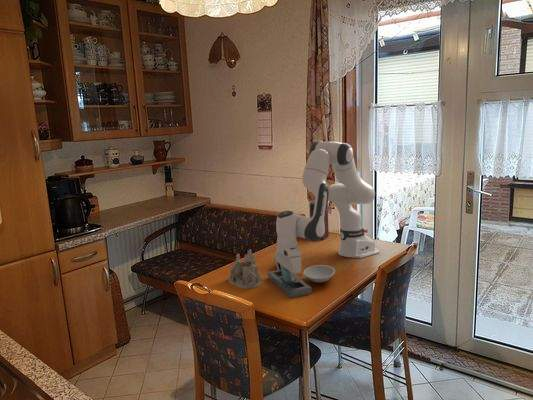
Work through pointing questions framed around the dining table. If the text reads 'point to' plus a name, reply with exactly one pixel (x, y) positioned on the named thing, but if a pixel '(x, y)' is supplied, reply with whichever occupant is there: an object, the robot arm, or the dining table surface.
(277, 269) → the white arch segment
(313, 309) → the dining table surface
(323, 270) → the dish
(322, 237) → the dark brown tall piece
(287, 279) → the square peg
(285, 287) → the grey slotted board
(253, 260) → the ceramic cottage
